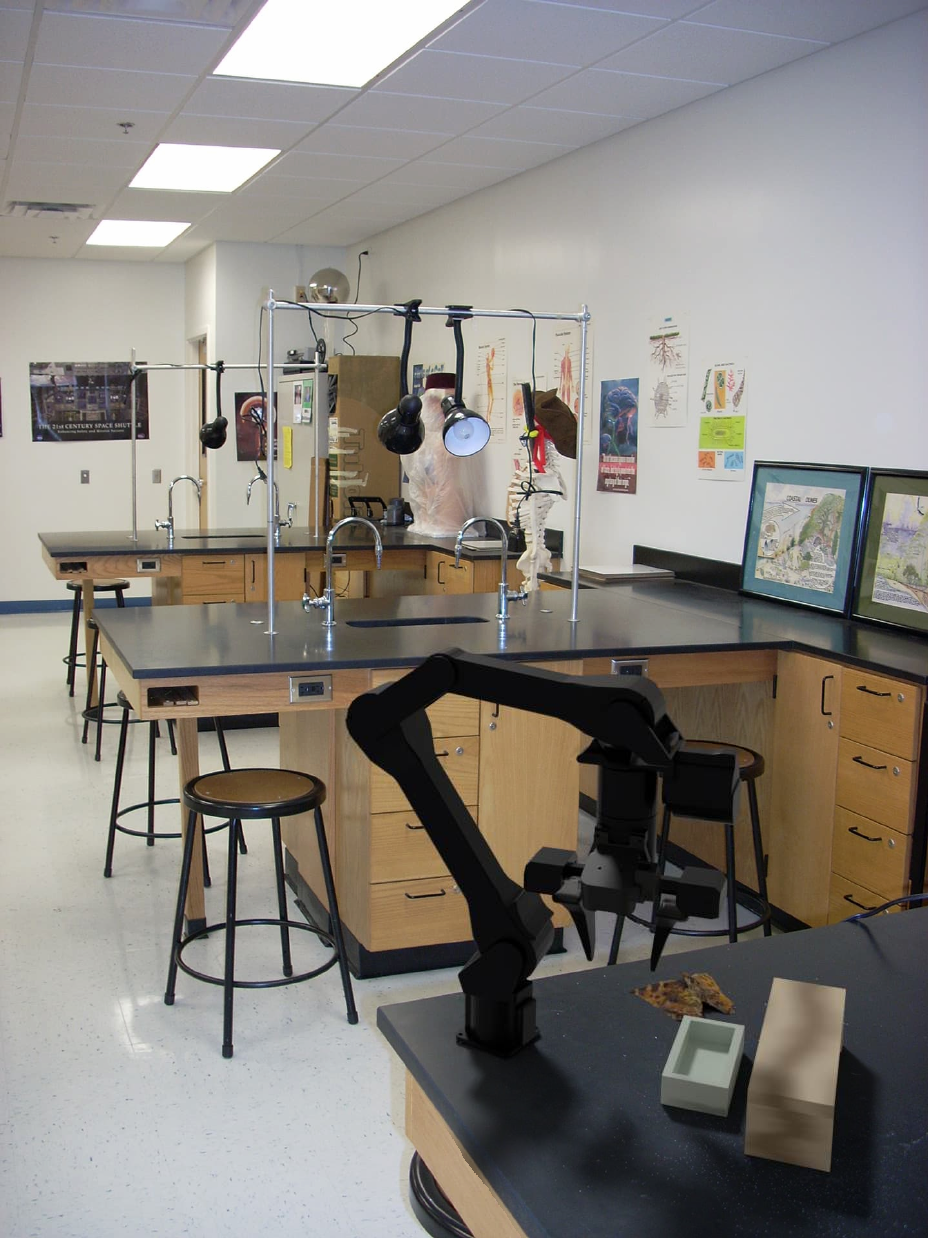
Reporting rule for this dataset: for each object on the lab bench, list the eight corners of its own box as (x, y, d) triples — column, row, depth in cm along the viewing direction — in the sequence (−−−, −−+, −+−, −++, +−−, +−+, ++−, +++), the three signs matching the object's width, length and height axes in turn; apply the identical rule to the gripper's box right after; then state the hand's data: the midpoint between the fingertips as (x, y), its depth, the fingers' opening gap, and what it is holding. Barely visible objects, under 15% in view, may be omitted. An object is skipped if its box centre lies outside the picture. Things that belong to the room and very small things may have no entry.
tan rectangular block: (744, 1154, 101) (747, 1089, 100) (771, 1032, 122) (774, 977, 121) (829, 1172, 99) (833, 1106, 98) (842, 1044, 119) (845, 989, 118)
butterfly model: (622, 998, 130) (623, 972, 129) (713, 977, 135) (715, 952, 134) (668, 1035, 122) (669, 1007, 122) (763, 1011, 127) (765, 985, 127)
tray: (660, 1103, 109) (661, 1075, 108) (683, 1041, 120) (684, 1015, 119) (726, 1117, 107) (728, 1088, 106) (743, 1052, 118) (744, 1026, 117)
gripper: (506, 824, 108) (504, 985, 110) (713, 852, 101) (705, 1021, 104) (541, 790, 118) (538, 937, 120) (731, 812, 111) (723, 967, 114)
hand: (621, 965), depth 114 cm, fingers open, 6 cm apart
